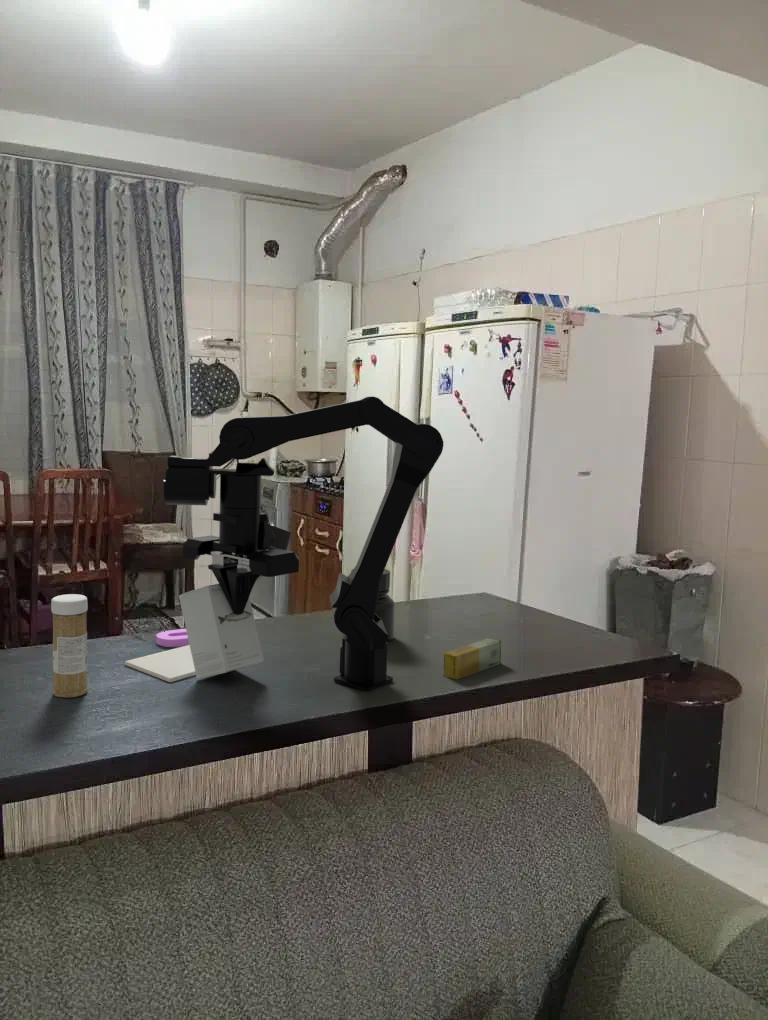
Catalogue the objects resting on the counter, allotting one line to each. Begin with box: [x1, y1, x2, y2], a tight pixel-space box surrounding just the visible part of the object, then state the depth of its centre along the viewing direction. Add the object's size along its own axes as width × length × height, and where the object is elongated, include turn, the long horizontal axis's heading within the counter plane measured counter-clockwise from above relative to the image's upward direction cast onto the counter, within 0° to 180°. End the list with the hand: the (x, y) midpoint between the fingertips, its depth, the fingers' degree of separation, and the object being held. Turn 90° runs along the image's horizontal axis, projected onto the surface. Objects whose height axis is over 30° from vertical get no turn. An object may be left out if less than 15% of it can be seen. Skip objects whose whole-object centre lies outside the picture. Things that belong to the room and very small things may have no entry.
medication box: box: [443, 637, 502, 681], centre depth 128 cm, size 12×3×4 cm, turn 138°
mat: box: [124, 645, 196, 683], centre depth 125 cm, size 11×14×1 cm
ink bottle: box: [342, 568, 396, 642], centre depth 142 cm, size 10×9×12 cm
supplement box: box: [178, 583, 265, 680], centre depth 119 cm, size 7×7×13 cm
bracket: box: [155, 628, 189, 648], centre depth 137 cm, size 13×6×7 cm, turn 119°
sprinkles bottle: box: [50, 593, 89, 699], centre depth 110 cm, size 5×5×14 cm
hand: (238, 614), depth 117 cm, fingers closed
